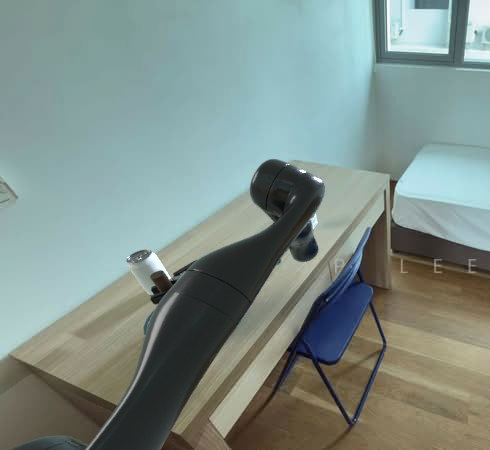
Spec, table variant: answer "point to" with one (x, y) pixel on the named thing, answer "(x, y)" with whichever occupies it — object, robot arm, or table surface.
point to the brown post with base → (161, 281)
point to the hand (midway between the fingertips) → (152, 296)
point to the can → (145, 268)
